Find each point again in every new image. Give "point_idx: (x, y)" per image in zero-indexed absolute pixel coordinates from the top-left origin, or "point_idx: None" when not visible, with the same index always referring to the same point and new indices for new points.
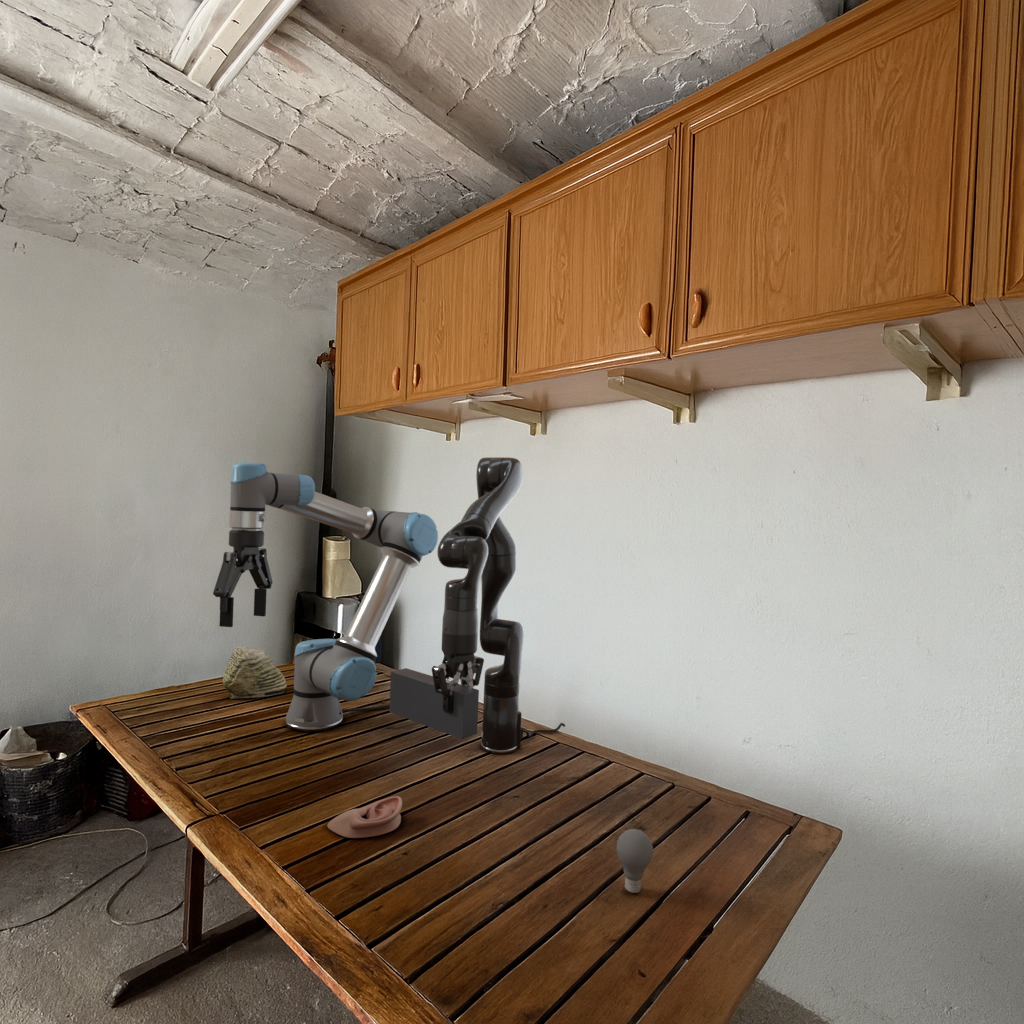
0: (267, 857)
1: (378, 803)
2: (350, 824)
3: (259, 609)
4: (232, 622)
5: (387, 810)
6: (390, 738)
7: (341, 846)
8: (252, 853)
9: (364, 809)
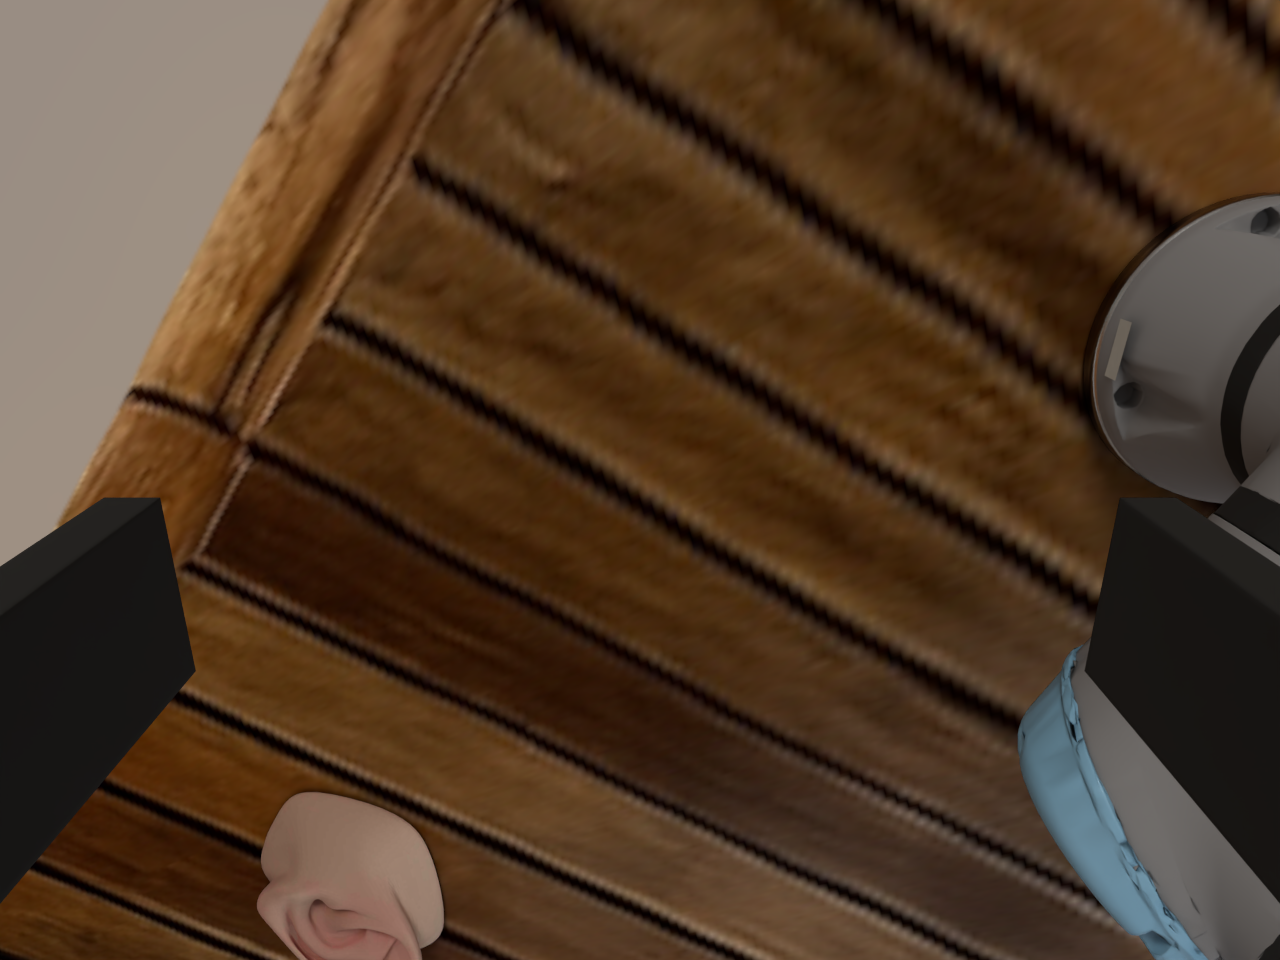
0: None
1: (383, 932)
2: (269, 884)
3: (1161, 658)
4: (152, 709)
5: (362, 958)
6: None
7: (225, 856)
8: None
9: (342, 905)
